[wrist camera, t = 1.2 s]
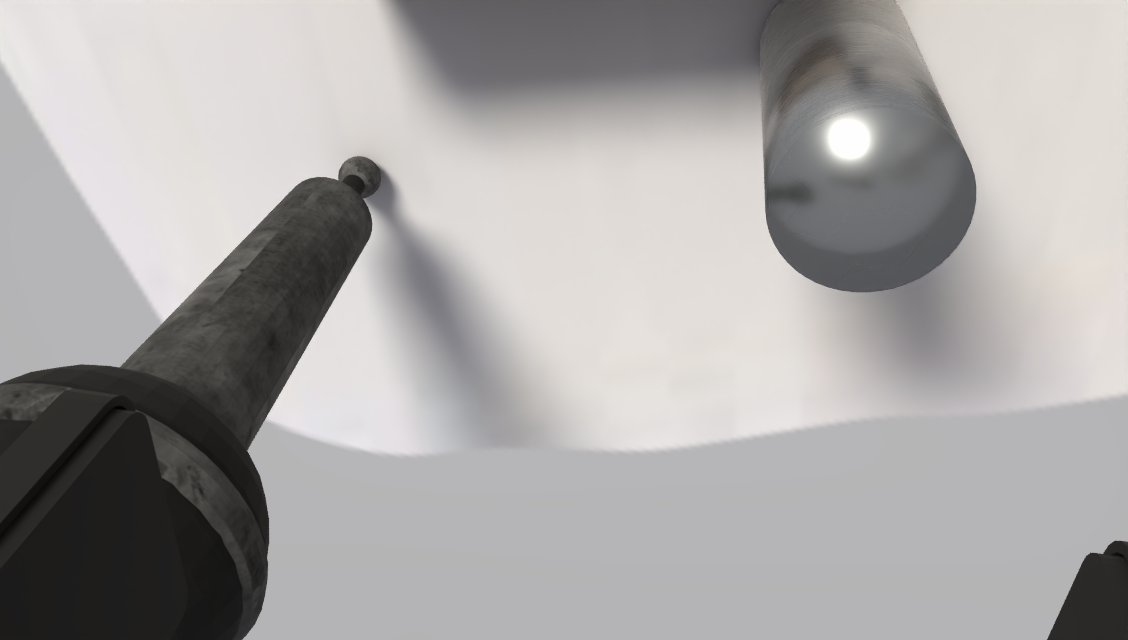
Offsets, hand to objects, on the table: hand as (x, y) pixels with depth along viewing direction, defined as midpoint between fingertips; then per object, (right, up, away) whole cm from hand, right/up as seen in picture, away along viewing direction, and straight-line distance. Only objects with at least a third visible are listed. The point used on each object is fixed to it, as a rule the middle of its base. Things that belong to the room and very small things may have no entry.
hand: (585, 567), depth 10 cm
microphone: (-6, +7, +22) cm, 25 cm away
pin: (+7, +10, +18) cm, 22 cm away
